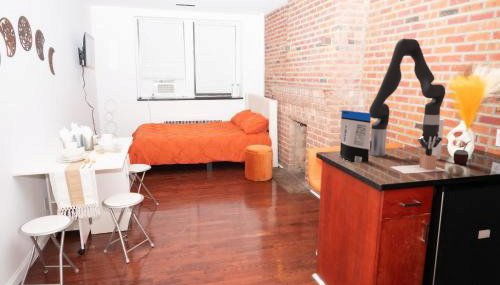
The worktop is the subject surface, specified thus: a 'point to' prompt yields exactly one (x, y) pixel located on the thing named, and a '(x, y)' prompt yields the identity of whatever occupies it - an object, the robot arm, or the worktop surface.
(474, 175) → the worktop surface
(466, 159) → the mate gourd
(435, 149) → the cylindrical container
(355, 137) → the protein powder
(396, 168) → the white board
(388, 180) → the worktop surface
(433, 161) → the salmon pink cube
